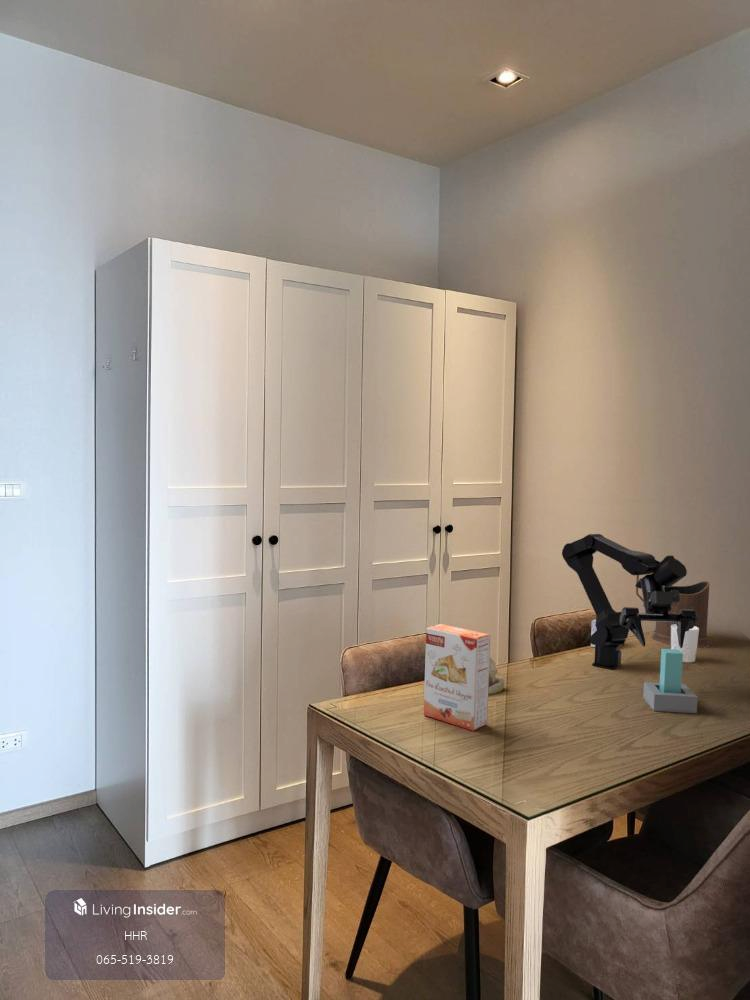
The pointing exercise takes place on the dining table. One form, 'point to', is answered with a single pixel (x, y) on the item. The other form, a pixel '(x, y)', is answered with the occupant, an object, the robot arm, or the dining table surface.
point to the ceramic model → (494, 679)
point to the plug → (671, 671)
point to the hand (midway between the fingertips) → (662, 646)
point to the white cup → (686, 643)
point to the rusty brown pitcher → (689, 599)
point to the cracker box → (457, 676)
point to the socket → (670, 699)
